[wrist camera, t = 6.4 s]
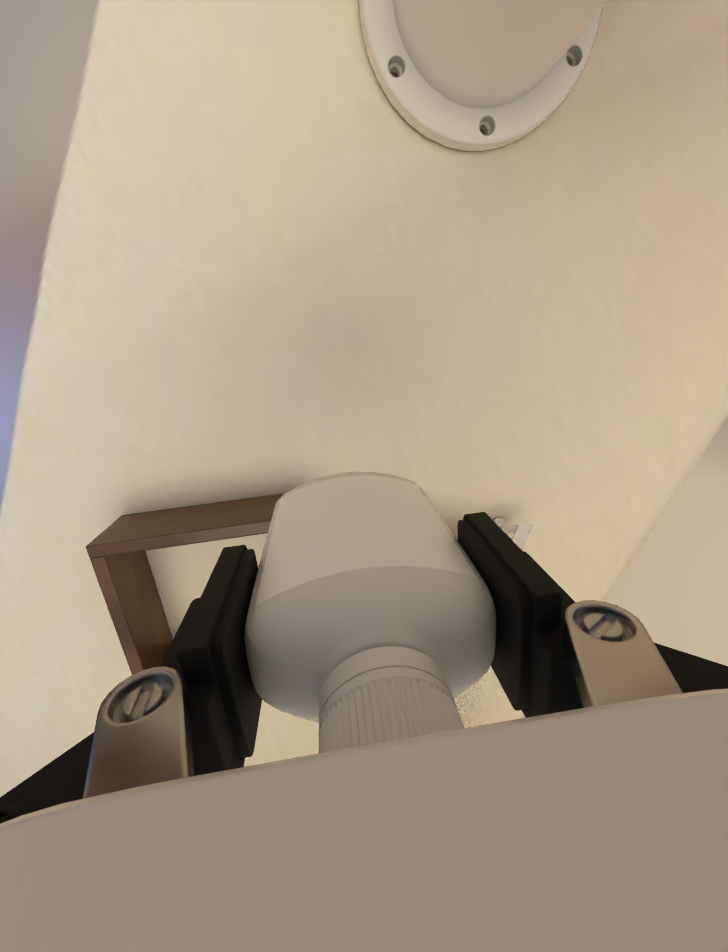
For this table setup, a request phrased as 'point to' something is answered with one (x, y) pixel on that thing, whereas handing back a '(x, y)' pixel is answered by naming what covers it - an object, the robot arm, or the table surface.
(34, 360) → the table surface
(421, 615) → the eye dropper bottle
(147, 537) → the square wooden box frame
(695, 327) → the table surface
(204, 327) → the table surface
